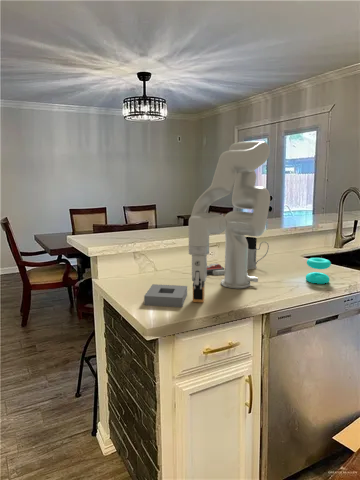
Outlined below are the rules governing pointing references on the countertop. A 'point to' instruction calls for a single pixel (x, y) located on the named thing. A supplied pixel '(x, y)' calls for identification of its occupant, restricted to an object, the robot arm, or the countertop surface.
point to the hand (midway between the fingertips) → (198, 296)
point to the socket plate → (166, 295)
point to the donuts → (317, 276)
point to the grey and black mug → (253, 252)
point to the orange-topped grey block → (203, 293)
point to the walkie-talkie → (215, 269)
